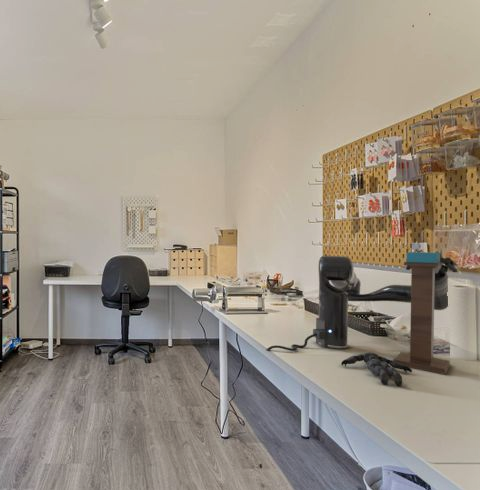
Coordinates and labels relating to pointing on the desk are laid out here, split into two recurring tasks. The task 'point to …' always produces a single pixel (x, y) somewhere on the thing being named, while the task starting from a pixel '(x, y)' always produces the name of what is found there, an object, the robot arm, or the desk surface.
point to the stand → (422, 321)
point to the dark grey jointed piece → (380, 366)
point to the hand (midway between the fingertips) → (427, 253)
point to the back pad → (423, 257)
